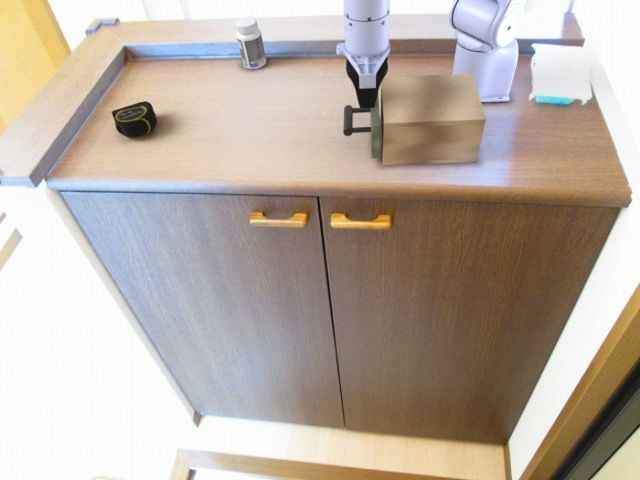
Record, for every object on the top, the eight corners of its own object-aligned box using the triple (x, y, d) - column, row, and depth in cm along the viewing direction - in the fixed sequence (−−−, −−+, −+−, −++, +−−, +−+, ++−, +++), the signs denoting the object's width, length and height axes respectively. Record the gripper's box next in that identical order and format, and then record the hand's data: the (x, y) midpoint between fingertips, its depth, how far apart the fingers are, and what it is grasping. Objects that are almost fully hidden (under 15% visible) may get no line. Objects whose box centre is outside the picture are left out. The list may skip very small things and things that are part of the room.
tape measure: (155, 114, 83) (148, 95, 80) (163, 134, 79) (155, 115, 76) (117, 125, 82) (108, 107, 79) (123, 147, 78) (113, 128, 75)
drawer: (343, 159, 69) (342, 127, 65) (345, 118, 76) (343, 86, 72) (457, 155, 68) (463, 122, 63) (448, 114, 74) (452, 81, 70)
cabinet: (383, 165, 69) (384, 123, 63) (380, 119, 76) (381, 77, 71) (476, 162, 68) (486, 119, 62) (464, 115, 75) (472, 73, 69)
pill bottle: (270, 58, 93) (262, 16, 86) (260, 71, 90) (252, 28, 83) (249, 56, 94) (240, 14, 87) (239, 68, 91) (229, 26, 85)
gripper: (336, -11, 63) (341, 80, 73) (332, 41, 53) (338, 137, 64) (388, -15, 62) (386, 78, 72) (394, 37, 53) (390, 135, 63)
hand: (367, 105), depth 68 cm, fingers closed, pressing on drawer
